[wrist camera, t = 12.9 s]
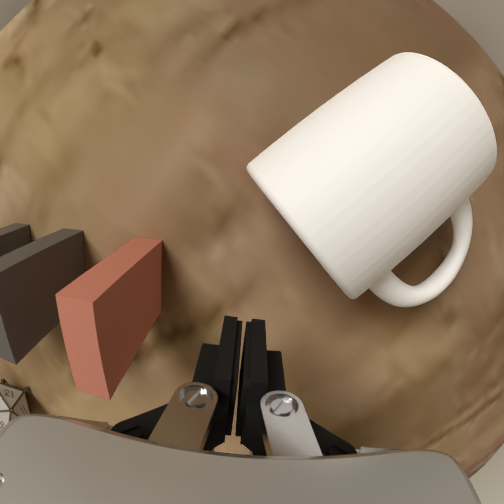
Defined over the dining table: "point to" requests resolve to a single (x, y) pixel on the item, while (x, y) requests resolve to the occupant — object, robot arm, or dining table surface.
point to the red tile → (111, 314)
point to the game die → (12, 403)
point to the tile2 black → (35, 289)
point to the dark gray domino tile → (14, 237)
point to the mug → (383, 175)
